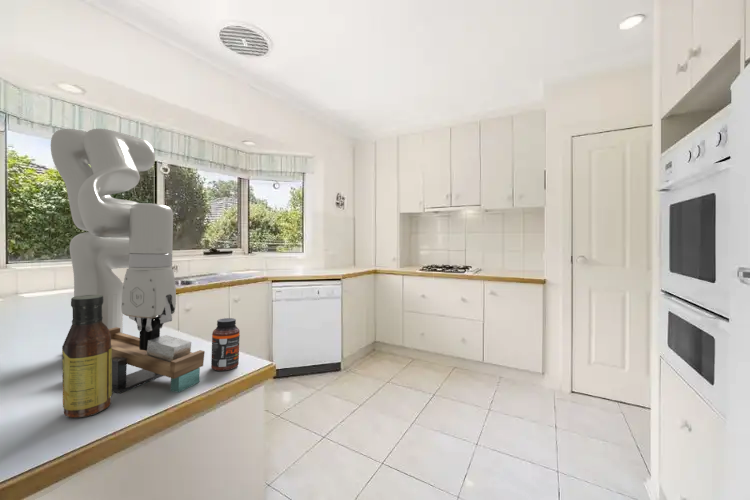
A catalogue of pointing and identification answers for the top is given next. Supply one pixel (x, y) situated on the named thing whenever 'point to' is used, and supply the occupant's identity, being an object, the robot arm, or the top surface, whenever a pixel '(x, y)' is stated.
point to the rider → (168, 348)
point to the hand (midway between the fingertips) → (149, 348)
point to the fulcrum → (146, 377)
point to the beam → (135, 357)
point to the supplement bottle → (225, 345)
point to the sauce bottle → (87, 360)
